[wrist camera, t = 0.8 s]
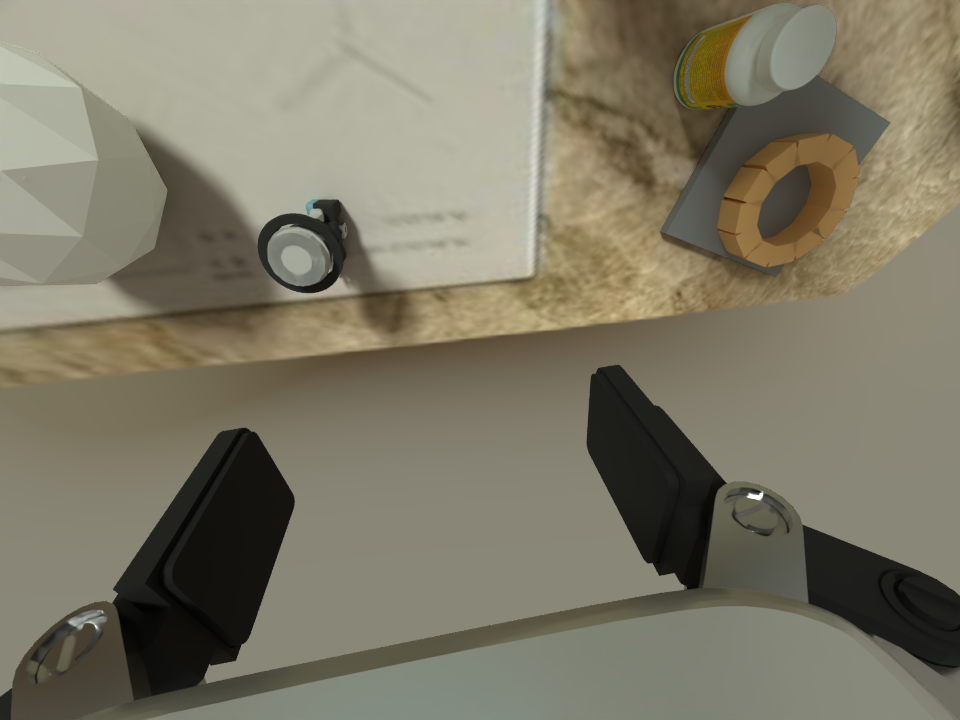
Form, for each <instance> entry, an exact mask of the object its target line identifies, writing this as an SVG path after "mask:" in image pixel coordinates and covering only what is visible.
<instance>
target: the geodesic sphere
mask: <svg viewBox="0 0 960 720" xmlns="http://www.w3.org/2000/svg"><path fill="white" fill-rule="evenodd" d="M167 192H168V190H167V188H166V186H165V185H164V183H163V181H162V179H161V177H160V175H159V173H158V171H157V169H156V168H155V166H154V164H153V162H152V160H151V158H150V156H149V154H148V153H147V151H146V149H145V147H144V145H143V143H142V141H141V139H140V137H139V136H138V134H137V132H136V130H135V128H134V126H133V124H132V122H131V120H129V119H128V118H126V117H125V116H124V115H122V114H121V113H120V112H118V111H117V110H116V109H114V108H113V107H112V106H110V105H109V104H107V103H106V102H105V101H103V100H102V99H101V98H99V97H98V96H97V95H95V94H94V93H93V92H91V91H90V90H88V89H87V88H86V87H84V86H83V85H82V84H80V83H79V82H78V81H76V80H75V79H73V78H72V77H71V76H69V75H68V74H67V73H65V72H64V71H63V70H61V69H60V68H59V67H57V66H56V65H54V64H53V63H52V62H50V61H49V60H48V59H46V58H45V57H44V56H42V55H41V54H40V53H37V52H34V51H31V50H28V49H25V48H22V47H19V46H16V45H13V44H10V43H7V42H4V41H1V40H0V286H22V285H74V284H97V283H99V282H100V281H102V280H104V279H106V278H107V277H109V276H111V275H112V274H114V273H116V272H117V271H119V270H121V269H122V268H124V267H126V266H127V265H129V264H130V263H132V262H134V261H135V260H137V259H138V258H140V257H142V256H143V255H145V254H146V253H148V252H150V251H151V250H153V249H154V248H155V245H156V240H157V236H158V231H159V227H160V223H161V218H162V214H163V209H164V205H165V200H166V196H167Z"/></svg>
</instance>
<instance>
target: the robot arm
mask: <svg viewBox="0 0 960 720" xmlns="http://www.w3.org/2000/svg"><path fill="white" fill-rule="evenodd" d="M587 448H588V452H589V454H590V456H591V458H592V460H593V462H594V464H595V466H596V468H597V470H598V472H599V474H600V475H601V478H602V479H603V481H604V483H605V485H606V487H607V489H608V491H609V493H610V495H611V497H612V499H613V500H614V503H615V505H616V506H617V508H618V510H619V512H620V514H621V516H622V518H623V520H624V522H625V524H626V526H627V528H628V530H629V532H630V534H631V536H632V538H633V540H634V542H635V543H636V545H637V547H638V549H639V551H640V553H641V555H642V557H643V559H644V560H645V561H646V562H647V563H653V565H654V567H655V568H656V571H657V572H658V574H659V576H661V575H666V574H671V573H675V574H676V576H677V578H678V580H679V581H680V583H681V584H683V585H685V586H684V590H681V591H673V592H665V593H658V594H652V595H647V596H641V597H635V598H630V599H624V600H618V601H613V602H608V603H602V604H596V605H590V606H586V607H580V608H575V609H570V610H565V611H560V612H555V613H550V614H545V615H540V616H535V617H530V618H524V619H519V620H514V621H509V622H504V623H499V624H495V625H489V626H484V627H479V628H474V629H469V630H464V631H459V632H455V633H449V634H444V635H440V636H435V637H429V638H424V639H420V640H414V641H410V642H405V643H400V644H395V645H390V646H385V647H381V648H376V649H370V650H365V651H360V652H356V653H350V654H346V655H341V656H337V657H331V658H326V659H321V660H317V661H312V662H307V663H302V664H297V665H293V666H288V667H283V668H278V669H274V670H269V671H264V672H259V673H254V674H249V675H245V676H240V677H235V678H230V679H226V680H221V681H216V682H212V683H208V684H207V683H206V680H205V678H204V676H205V673H206V671H207V668H208V666H209V664H210V665H217V664H222V663H227V662H232V661H236V658H237V656H238V653H239V650H240V647H241V645H242V644H244V643H245V642H246V641H247V640H248V638H249V636H250V634H251V631H252V628H253V625H254V622H255V619H256V616H257V613H258V610H259V607H260V605H261V602H262V599H263V596H264V593H265V590H266V587H267V584H268V581H269V578H270V576H271V573H272V570H273V567H274V564H275V561H276V558H277V555H278V552H279V549H280V546H281V543H282V541H283V538H284V535H285V532H286V529H287V526H288V523H289V520H290V517H291V515H292V512H293V508H294V503H295V500H294V495H293V493H292V492H291V490H290V488H289V486H288V485H287V483H286V481H285V480H284V478H283V476H282V475H281V473H280V471H279V470H278V468H277V466H276V465H275V463H274V461H273V460H272V458H271V456H270V455H269V453H268V451H267V450H266V448H265V446H264V445H263V443H262V441H261V440H260V438H259V436H258V435H257V433H255V432H251V431H250V430H249V429H247V428H239V429H234V430H227V431H222V432H220V433H219V434H218V435H217V436H216V438H215V439H214V441H213V443H212V444H211V445H210V447H209V448H208V450H207V451H206V453H205V454H204V456H203V457H202V459H201V460H200V462H199V463H198V465H197V466H196V467H195V469H194V471H193V472H192V473H191V475H190V476H189V478H188V479H187V481H186V482H185V484H184V485H183V487H182V488H181V490H180V491H179V492H178V494H177V495H176V497H175V498H174V500H173V501H172V503H171V504H170V506H169V507H168V509H167V510H166V512H165V513H164V515H163V516H162V518H161V519H160V521H159V522H158V524H157V525H156V526H155V528H154V529H153V531H152V532H151V534H150V535H149V537H148V538H147V540H146V541H145V543H144V544H143V546H142V547H141V549H140V550H139V552H138V553H137V554H136V556H135V558H134V559H133V560H132V562H131V563H130V565H129V566H128V568H127V569H126V571H125V572H124V574H123V575H122V577H121V578H120V580H119V581H118V582H117V584H116V586H115V587H114V589H113V590H114V591H116V592H117V593H118V595H117V596H116V598H115V600H114V601H113V603H110V602H107V601H101V602H94V603H91V604H89V605H86V606H83V607H81V608H79V609H77V610H75V611H74V612H72V613H70V614H68V615H67V616H65V617H64V618H62V619H61V620H60V621H58V622H57V623H56V624H54V625H53V626H52V627H51V628H50V629H48V630H47V631H46V632H45V633H44V634H43V635H42V636H41V637H40V638H39V639H38V640H37V641H36V642H35V643H34V644H33V646H32V647H31V648H30V649H29V650H28V652H27V653H26V654H25V655H24V657H23V659H22V660H21V662H20V664H19V666H18V667H17V669H16V672H15V675H14V679H13V685H12V688H11V689H10V690H9V691H8V692H6V693H5V694H3V695H2V696H1V697H0V720H960V596H959V595H958V594H957V593H956V592H955V591H954V590H952V589H950V588H949V587H947V586H946V585H944V584H943V583H941V582H940V581H938V580H937V579H934V578H933V577H930V576H928V575H926V574H924V573H922V572H920V571H918V570H915V569H913V568H910V567H908V566H905V565H903V564H900V563H898V562H895V561H893V560H890V559H888V558H885V557H882V556H880V555H877V554H875V553H872V552H870V551H868V550H865V549H862V548H860V547H857V546H855V545H852V544H850V543H847V542H845V541H842V540H840V539H837V538H835V537H832V536H830V535H827V534H825V533H822V532H820V531H817V530H815V529H812V528H809V527H807V526H804V525H802V522H801V519H800V516H799V515H798V513H797V512H796V510H795V509H794V507H793V506H792V505H791V504H790V503H789V502H787V501H786V500H785V499H784V498H783V497H782V496H780V495H778V494H777V493H775V492H774V491H772V490H770V489H768V488H765V487H763V486H760V485H758V484H753V483H749V482H731V483H728V484H727V483H726V482H725V481H724V480H723V479H722V478H721V476H720V475H719V474H718V473H717V472H716V471H715V470H714V468H713V467H712V466H711V465H710V464H709V463H708V461H707V460H706V459H705V458H704V457H703V455H702V454H701V453H700V452H699V451H698V450H697V449H696V447H695V446H694V445H693V444H692V443H691V442H690V440H689V439H688V438H687V437H686V436H685V435H684V433H683V432H682V431H681V430H680V429H679V428H678V426H677V425H676V424H675V423H674V422H673V421H672V420H671V418H670V417H669V416H668V415H667V414H666V413H665V411H664V410H663V409H661V408H660V407H659V406H656V405H655V406H654V405H653V404H652V403H651V401H650V400H649V399H648V398H647V397H646V395H645V394H644V393H643V392H642V391H641V390H640V388H639V387H638V386H637V385H636V384H635V382H634V381H633V380H632V379H631V378H630V376H629V375H628V374H627V373H626V372H625V370H624V369H623V368H622V367H621V366H620V365H613V366H607V367H601V368H598V370H597V372H596V374H592V376H591V383H590V399H589V413H588V428H587Z"/></svg>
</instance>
